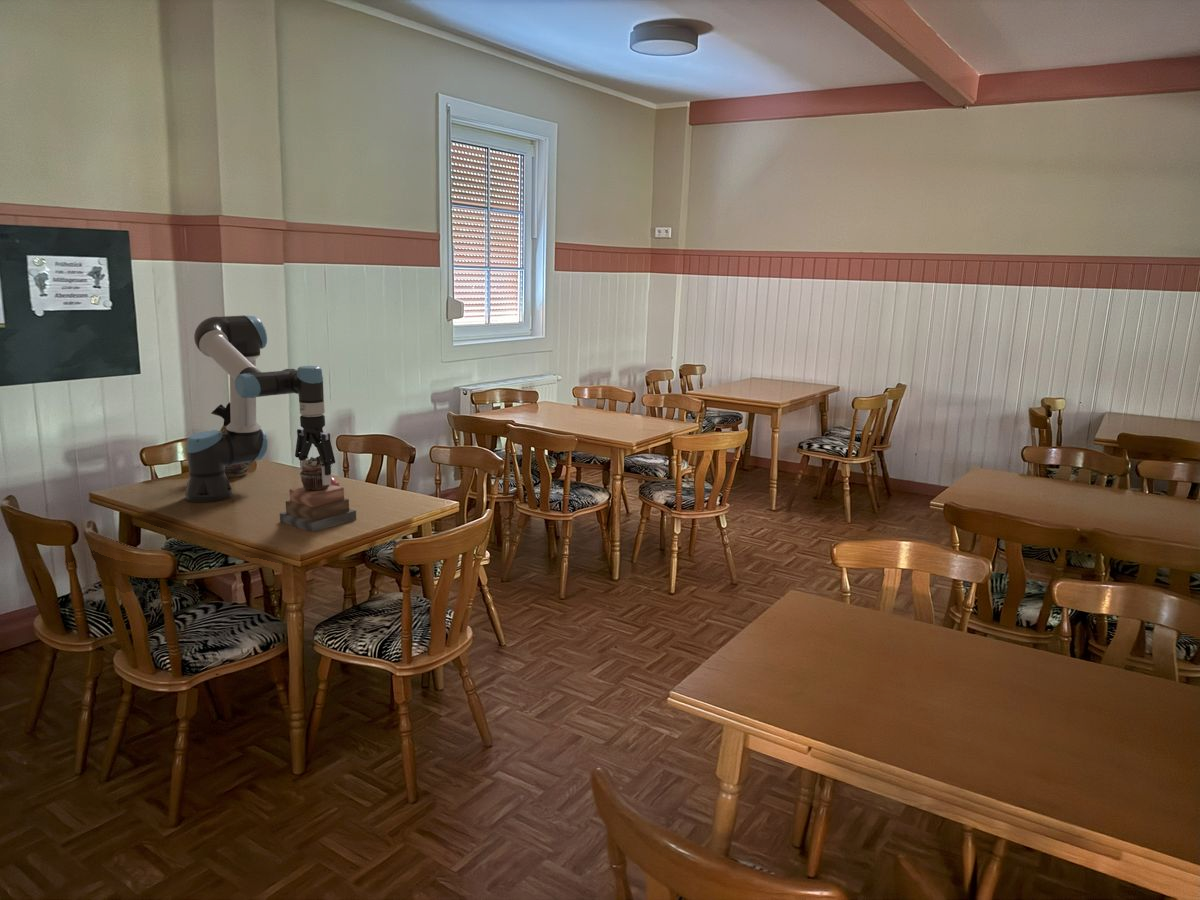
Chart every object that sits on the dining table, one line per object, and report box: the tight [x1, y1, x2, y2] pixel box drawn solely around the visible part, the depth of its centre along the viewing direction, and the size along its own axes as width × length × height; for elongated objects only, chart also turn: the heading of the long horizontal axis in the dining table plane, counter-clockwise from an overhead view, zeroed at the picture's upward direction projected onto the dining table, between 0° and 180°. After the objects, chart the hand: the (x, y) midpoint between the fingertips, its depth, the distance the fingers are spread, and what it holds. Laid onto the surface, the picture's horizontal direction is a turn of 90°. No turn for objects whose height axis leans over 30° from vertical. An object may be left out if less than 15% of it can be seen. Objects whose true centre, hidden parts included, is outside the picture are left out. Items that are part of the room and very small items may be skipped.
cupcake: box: [299, 455, 329, 490], centre depth 268 cm, size 10×10×10 cm
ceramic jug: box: [210, 402, 253, 478], centre depth 324 cm, size 17×15×30 cm
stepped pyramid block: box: [279, 484, 357, 533], centre depth 270 cm, size 17×17×11 cm
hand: (316, 481), depth 268 cm, fingers open, 10 cm apart
